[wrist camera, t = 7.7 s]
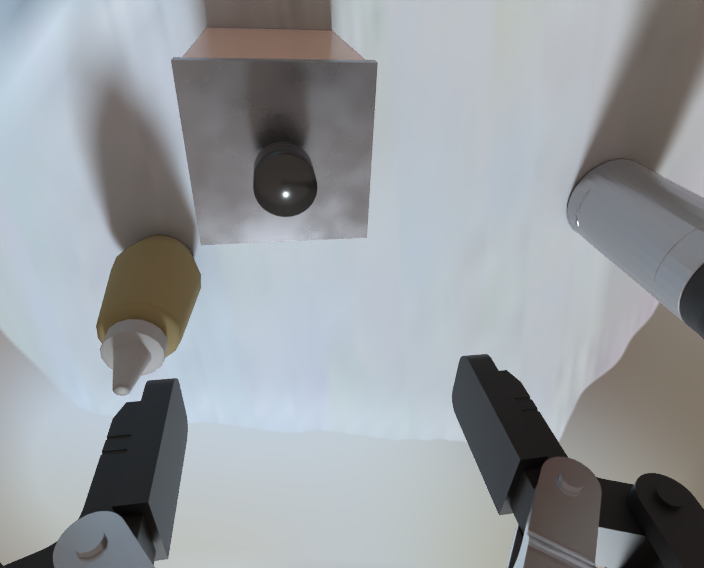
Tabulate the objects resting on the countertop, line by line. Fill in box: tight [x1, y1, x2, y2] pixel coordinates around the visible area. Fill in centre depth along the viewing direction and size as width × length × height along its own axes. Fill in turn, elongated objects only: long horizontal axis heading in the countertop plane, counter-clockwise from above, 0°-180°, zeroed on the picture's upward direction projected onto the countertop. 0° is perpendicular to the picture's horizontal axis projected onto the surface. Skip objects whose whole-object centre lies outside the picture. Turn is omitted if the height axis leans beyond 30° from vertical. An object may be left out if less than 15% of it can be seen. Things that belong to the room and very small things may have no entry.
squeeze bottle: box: [96, 235, 201, 396], centre depth 41 cm, size 8×8×18 cm
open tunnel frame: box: [182, 27, 365, 60], centre depth 34 cm, size 10×10×16 cm
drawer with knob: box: [171, 57, 377, 245], centre depth 32 cm, size 10×10×20 cm
